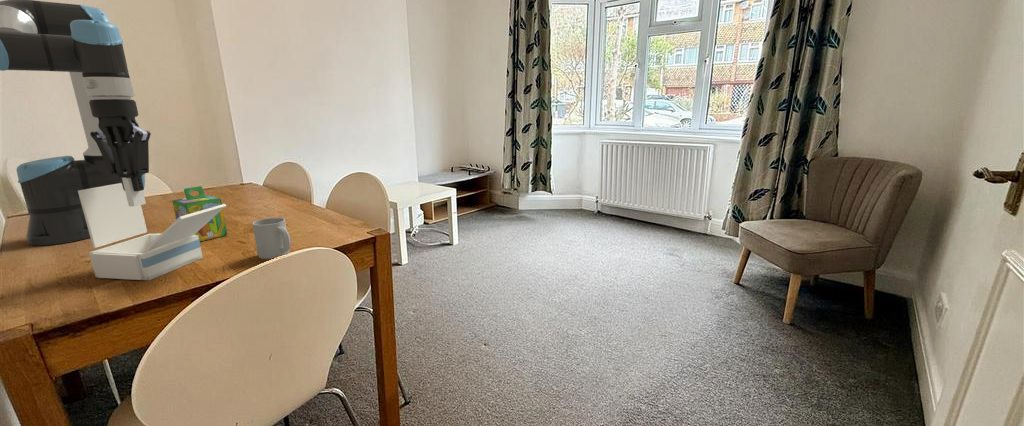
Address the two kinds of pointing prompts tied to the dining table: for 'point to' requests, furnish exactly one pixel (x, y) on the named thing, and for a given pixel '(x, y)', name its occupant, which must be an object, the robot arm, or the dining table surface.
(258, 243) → the cup
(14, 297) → the dining table surface
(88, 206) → the flap
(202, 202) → the chalk box
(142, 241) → the carton
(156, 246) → the flap
